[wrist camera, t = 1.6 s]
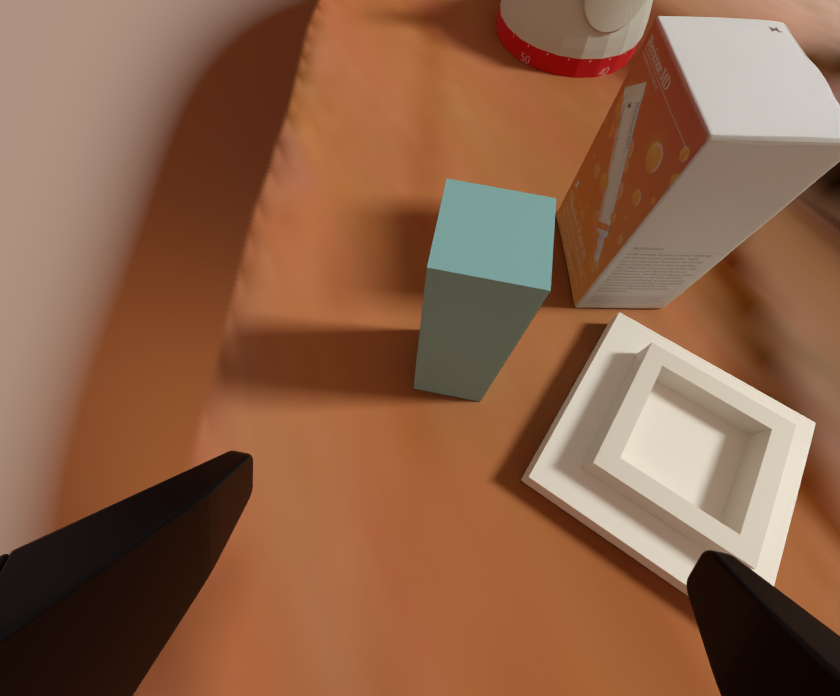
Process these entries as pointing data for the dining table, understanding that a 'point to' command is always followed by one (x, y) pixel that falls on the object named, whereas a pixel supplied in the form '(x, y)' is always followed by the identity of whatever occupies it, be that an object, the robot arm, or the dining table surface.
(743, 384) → the plinth
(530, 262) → the pillar
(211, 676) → the dining table surface
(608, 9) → the kitchen timer
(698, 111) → the small box
